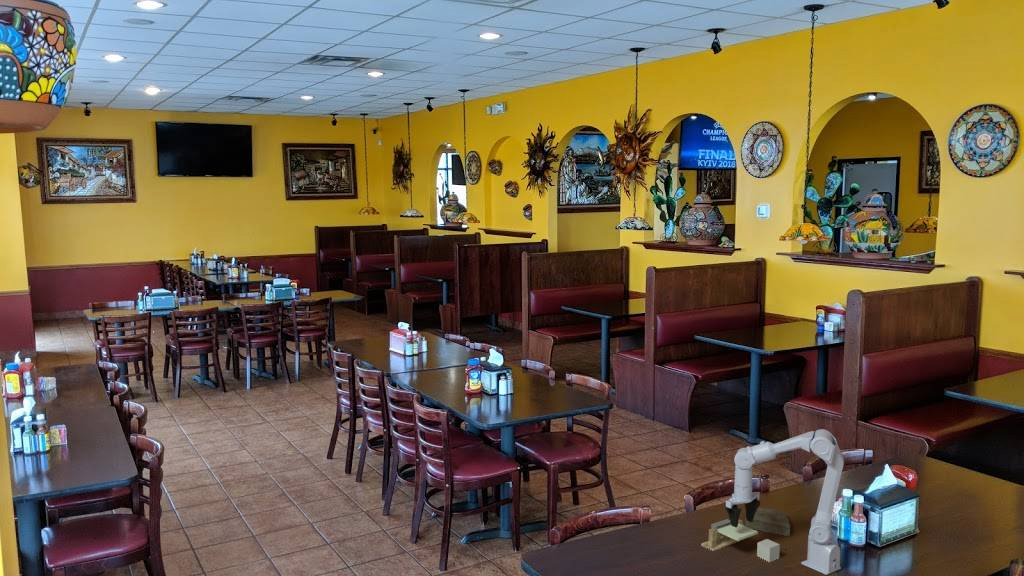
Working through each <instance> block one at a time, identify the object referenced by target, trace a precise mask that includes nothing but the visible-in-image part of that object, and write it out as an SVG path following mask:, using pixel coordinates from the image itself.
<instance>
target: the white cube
mask: <svg viewBox="0 0 1024 576" xmlns="http://www.w3.org/2000/svg"><path fill="white" fill-rule="evenodd" d="M780 545H781V544H780V543H777V542H775V541H773V540H772V539H771V540H770V539H769V538H766V539H763V540H761V541H758V542H757V545H756V546H757V547H756V548H757V549H756V557H757V556H758V557H760V558H759V559H761V558H762V559H761V560H763V559H764V560H763V561H765V560H766V561H765V562H767V561H768V562H767V563H769V562H770V563H772V562H774V560H775V561H776V559H777V560H779V559H780V548H781V547H780ZM758 557H757V558H758ZM771 561H772V562H771Z"/></svg>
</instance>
